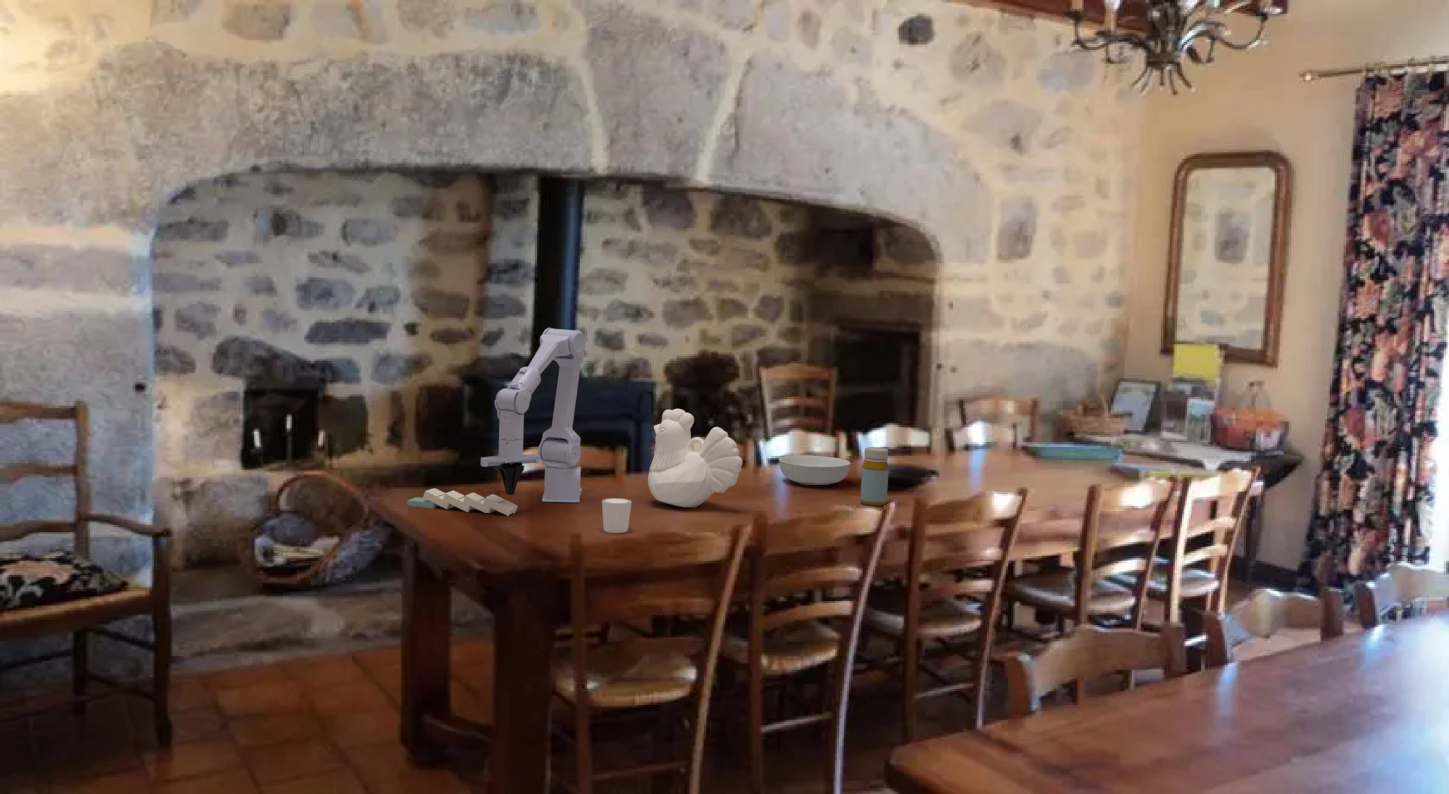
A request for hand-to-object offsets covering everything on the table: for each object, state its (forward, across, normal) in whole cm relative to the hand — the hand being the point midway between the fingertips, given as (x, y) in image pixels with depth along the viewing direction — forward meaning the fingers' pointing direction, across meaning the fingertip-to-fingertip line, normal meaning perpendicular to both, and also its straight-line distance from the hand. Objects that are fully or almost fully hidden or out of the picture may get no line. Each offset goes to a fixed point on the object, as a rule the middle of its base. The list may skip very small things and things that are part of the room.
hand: (509, 494), depth 288 cm
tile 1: (+4, +12, -14) cm, 20 cm away
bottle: (+5, -94, +26) cm, 98 cm away
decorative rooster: (+5, -46, +10) cm, 47 cm away
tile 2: (+4, +10, -11) cm, 16 cm away
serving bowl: (+5, -98, -4) cm, 98 cm away
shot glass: (+5, -15, +25) cm, 30 cm away
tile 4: (+4, +3, -3) cm, 6 cm away
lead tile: (+4, -1, +1) cm, 4 cm away
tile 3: (+4, +6, -7) cm, 10 cm away
